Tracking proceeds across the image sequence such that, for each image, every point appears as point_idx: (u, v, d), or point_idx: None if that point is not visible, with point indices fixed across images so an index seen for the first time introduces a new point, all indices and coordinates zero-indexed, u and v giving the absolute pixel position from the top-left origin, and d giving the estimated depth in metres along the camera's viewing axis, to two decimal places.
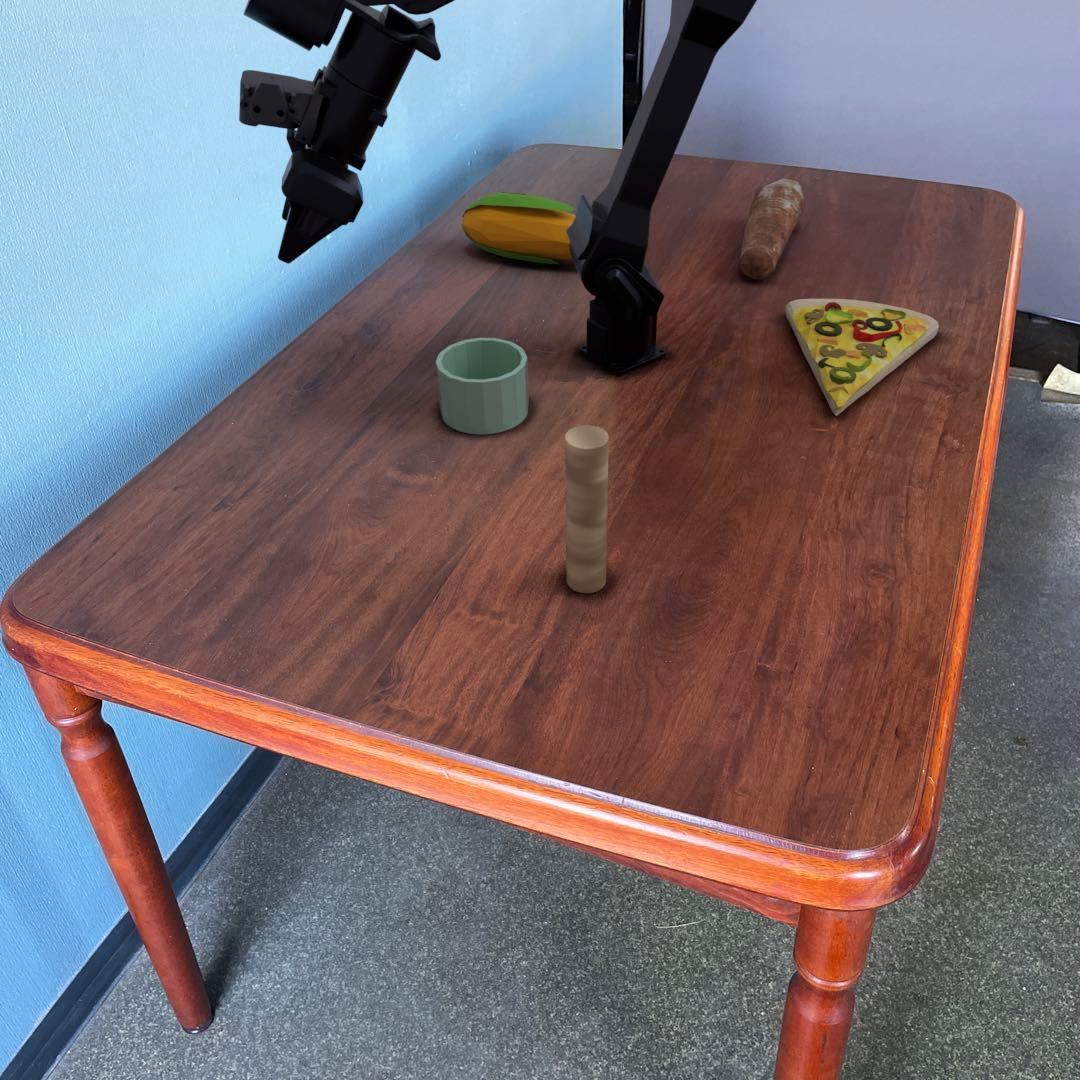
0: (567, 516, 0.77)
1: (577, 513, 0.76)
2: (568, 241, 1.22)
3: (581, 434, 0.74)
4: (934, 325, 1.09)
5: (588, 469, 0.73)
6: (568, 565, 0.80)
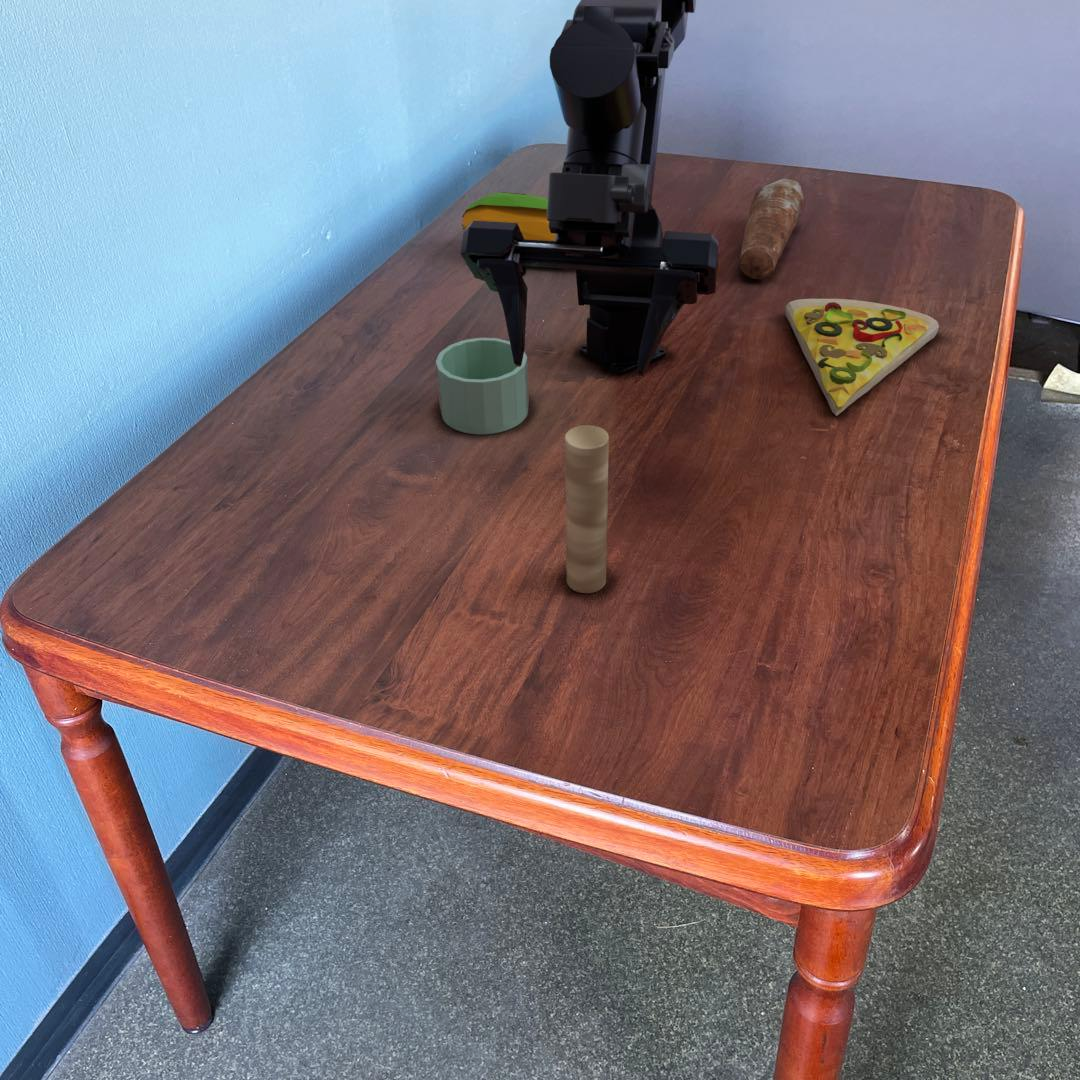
0: (567, 516, 0.77)
1: (577, 513, 0.76)
2: None
3: (581, 434, 0.74)
4: (934, 325, 1.09)
5: (588, 469, 0.73)
6: (568, 565, 0.80)
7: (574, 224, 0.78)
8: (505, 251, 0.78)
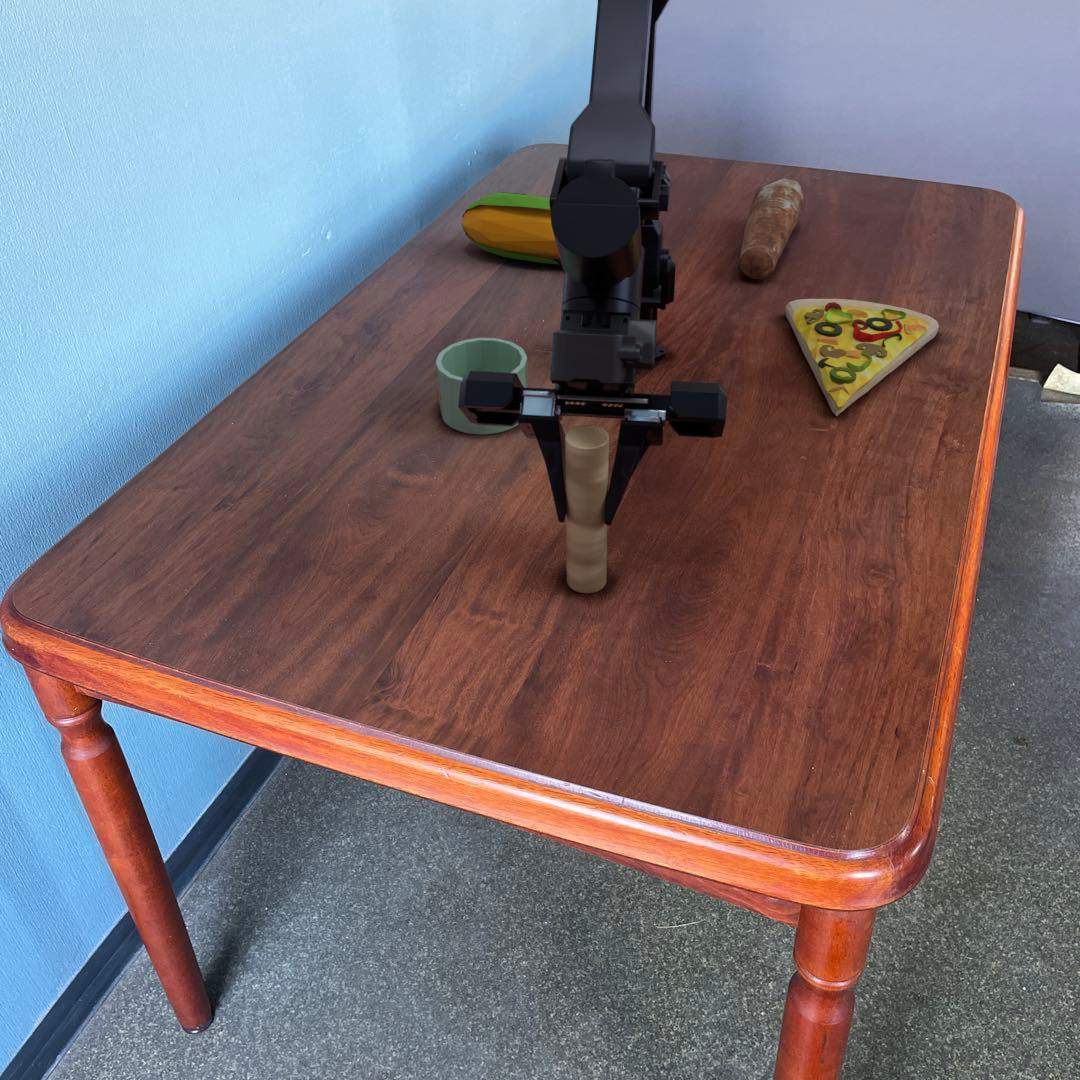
0: (567, 516, 0.77)
1: (577, 513, 0.76)
2: None
3: (581, 434, 0.74)
4: (934, 325, 1.09)
5: (588, 469, 0.73)
6: (568, 565, 0.80)
7: None
8: (505, 404, 0.75)
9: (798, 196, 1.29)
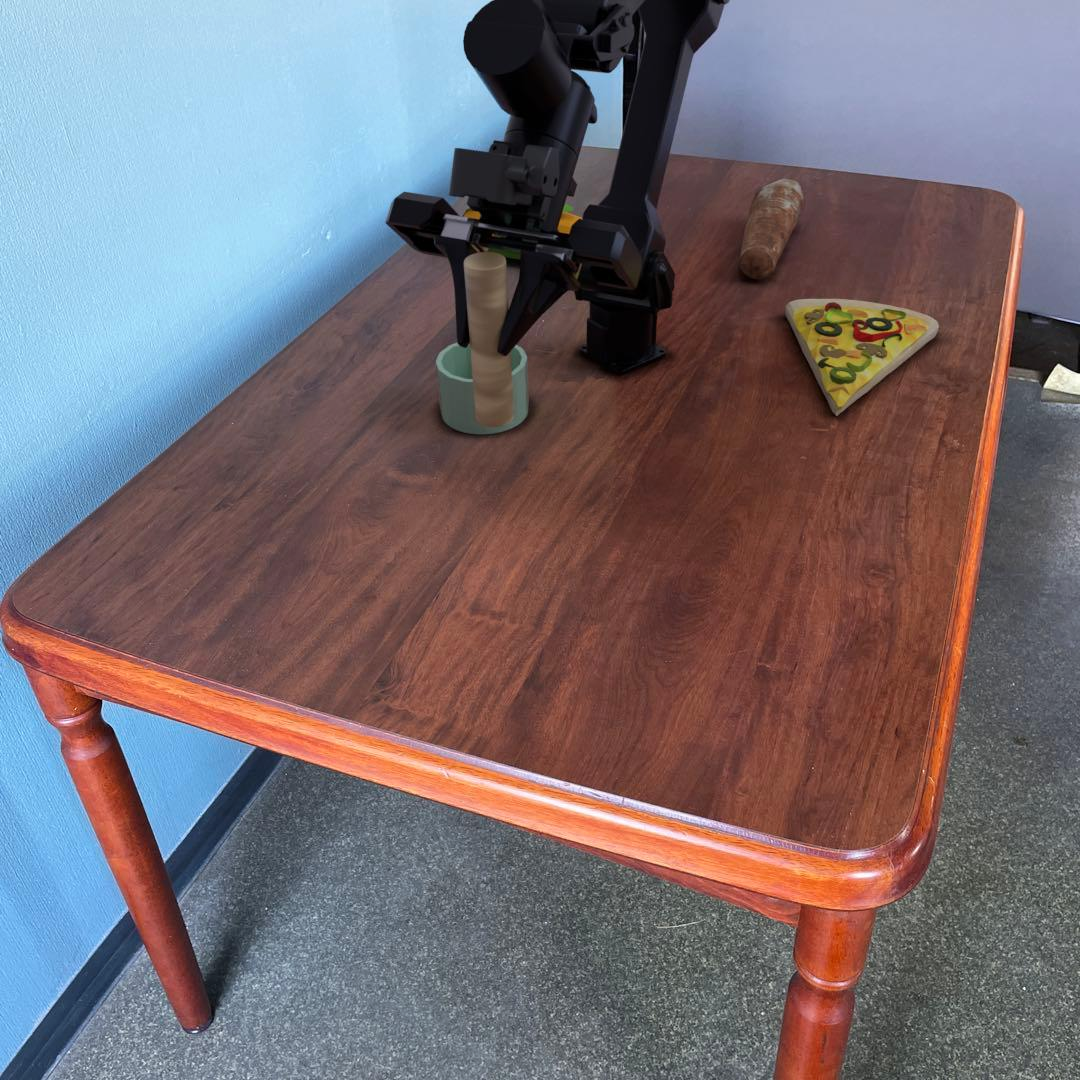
0: None
1: (474, 339, 0.78)
2: None
3: (481, 258, 0.76)
4: (934, 325, 1.09)
5: (480, 292, 0.76)
6: (474, 396, 0.82)
7: (491, 204, 0.77)
8: (424, 224, 0.79)
9: (798, 196, 1.29)
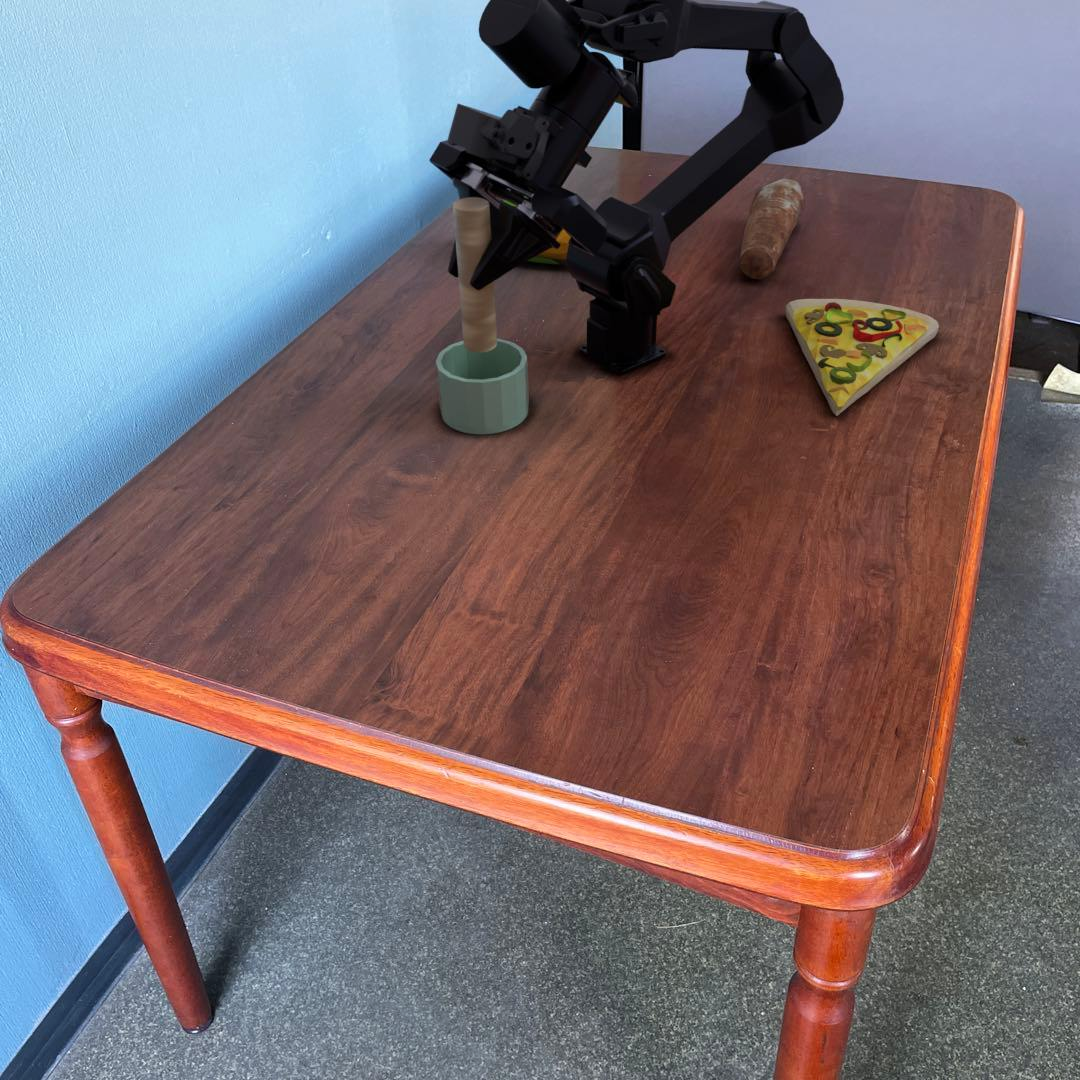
0: None
1: (458, 270, 0.92)
2: (568, 241, 1.22)
3: (470, 201, 0.89)
4: (934, 325, 1.09)
5: (459, 229, 0.89)
6: None
7: (497, 158, 0.89)
8: (451, 167, 0.93)
9: (798, 196, 1.29)
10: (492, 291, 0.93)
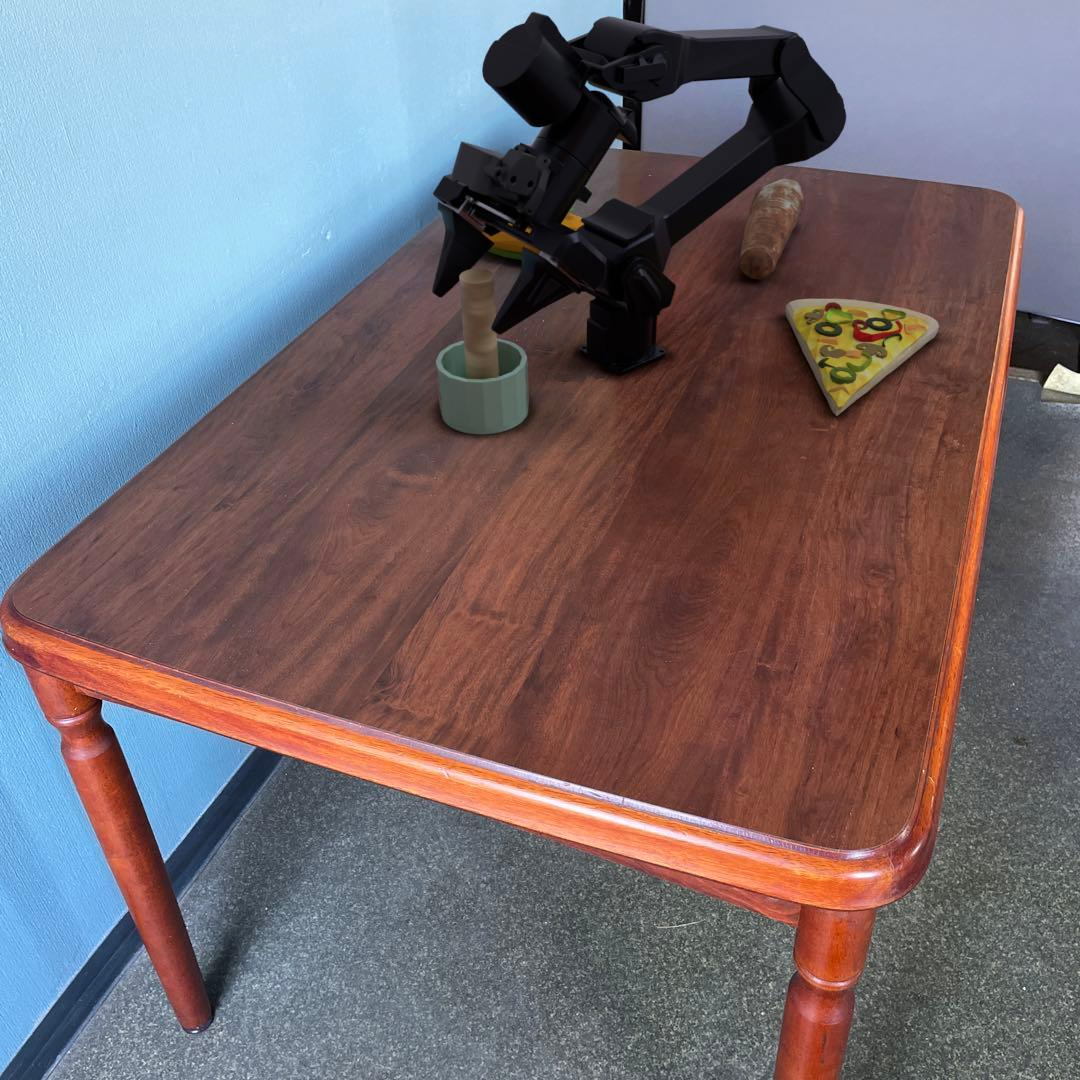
0: None
1: (463, 335, 0.96)
2: None
3: (475, 273, 0.93)
4: (934, 325, 1.09)
5: (465, 299, 0.93)
6: None
7: None
8: (454, 201, 0.95)
9: (798, 196, 1.29)
10: (496, 356, 0.97)
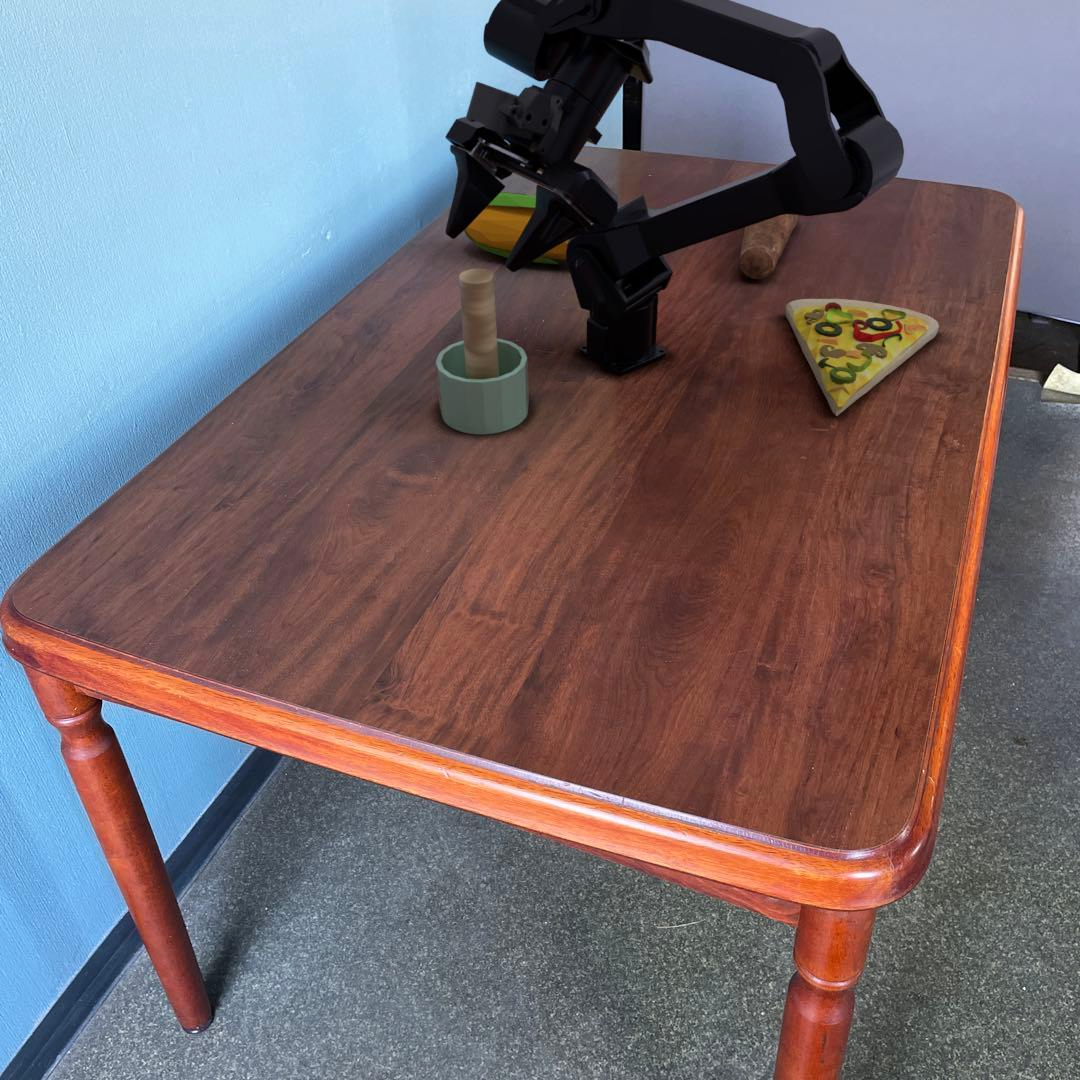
0: None
1: (463, 336, 0.96)
2: None
3: (475, 273, 0.93)
4: (934, 325, 1.09)
5: (465, 299, 0.93)
6: None
7: (512, 135, 0.94)
8: (467, 143, 0.97)
9: None
10: (496, 356, 0.97)
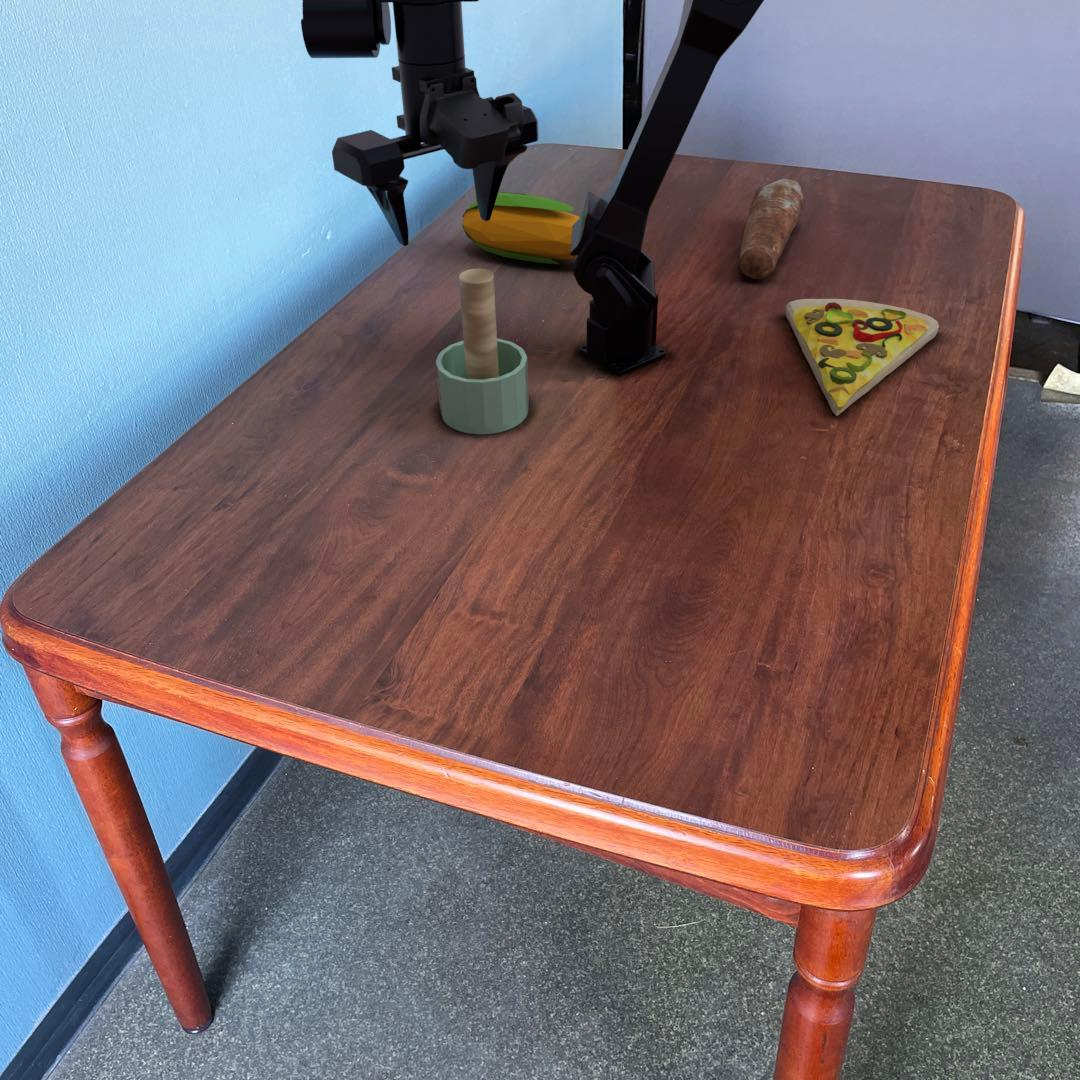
0: None
1: (463, 336, 0.96)
2: (568, 241, 1.22)
3: (475, 273, 0.93)
4: (934, 325, 1.09)
5: (465, 299, 0.93)
6: None
7: None
8: None
9: (798, 196, 1.29)
10: (496, 356, 0.97)
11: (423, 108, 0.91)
